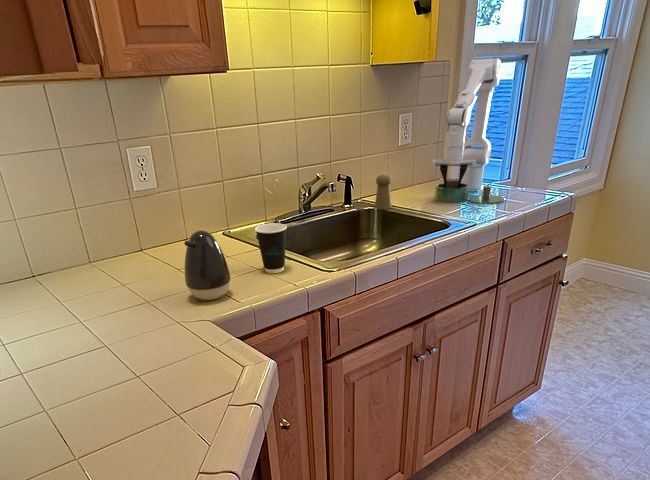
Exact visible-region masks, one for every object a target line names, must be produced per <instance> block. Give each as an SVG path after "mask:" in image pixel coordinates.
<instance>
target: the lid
mask: <svg viewBox="0 0 650 480" xmlns="http://www.w3.org/2000/svg"><path fill="white" fill-rule="evenodd" d="M491 191H492V186H489V185H485V186H483V190H482V194H475V195H470V196H468V198H467V201H468V202H469V203H473V204H479V205H494V204H500V203H503V202H505V197H504V196H501V195H496V194H491Z"/></svg>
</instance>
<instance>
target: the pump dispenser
mask: <svg viewBox="0 0 650 480" xmlns="http://www.w3.org/2000/svg"><path fill="white" fill-rule="evenodd" d="M183 244H184V246H186V249H185V255H184V282H185V286H186V287H187V288H188V290H189V292H190V294H192V295H193V296H194V297H195V298H196V299H199V300H202V301H214V300H217V299H220V298H222V297H223V296H224V295H225V294H226V293H227V291H228V290H229V288H230V282H231V280H232V279H231V273H230V269H229V264H228V262H227V260H226V256H225V255H224V252H223V250H222V248H221V246H220V244H219V243H218V241H217V239H216V238H215V236H213V234H211V233H210V232H209V231H206V230H197V231H195V232H193V233H192V234H191V235H190V237H189V239H188V240H185V241H184V242H183Z"/></svg>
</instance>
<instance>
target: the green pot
mask: <svg viewBox="0 0 650 480" xmlns="http://www.w3.org/2000/svg"><path fill="white" fill-rule="evenodd" d="M468 188H469V185H468V184H464V183H463V182H461V184H460V188H457V189H446V188H444V182H442V183H437V184H435V187H434V191H435V192H434V201H435V202H436V203H440V204H449V205H450V204H461V203H465V202H467V201H468V197H469V196H468V195H469V191H468Z"/></svg>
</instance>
